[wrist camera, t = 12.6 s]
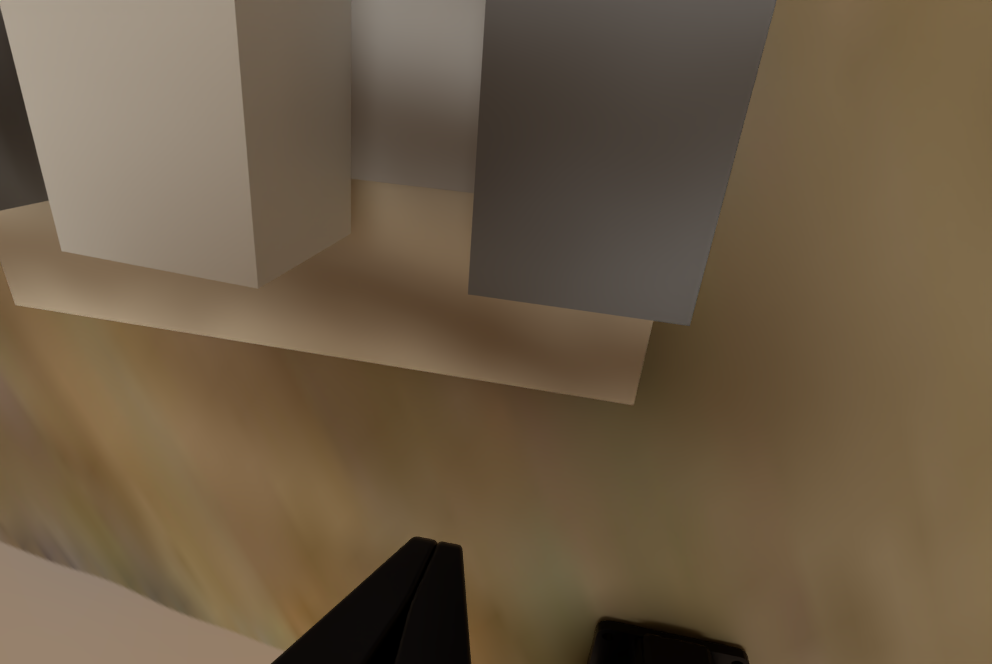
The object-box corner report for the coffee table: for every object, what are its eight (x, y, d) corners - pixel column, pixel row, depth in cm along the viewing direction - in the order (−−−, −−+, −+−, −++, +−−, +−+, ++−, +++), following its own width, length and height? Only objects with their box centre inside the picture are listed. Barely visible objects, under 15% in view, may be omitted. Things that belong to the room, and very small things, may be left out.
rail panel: (631, 390, 19) (643, 498, 14) (39, 295, 22) (-126, 357, 17) (800, -355, 11) (969, -722, 6) (-166, -343, 14) (-589, -579, 9)
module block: (350, 233, 16) (258, 288, 12) (203, 207, 17) (61, 250, 12) (351, -95, 13) (218, -192, 8) (163, -116, 13) (-56, -217, 9)
